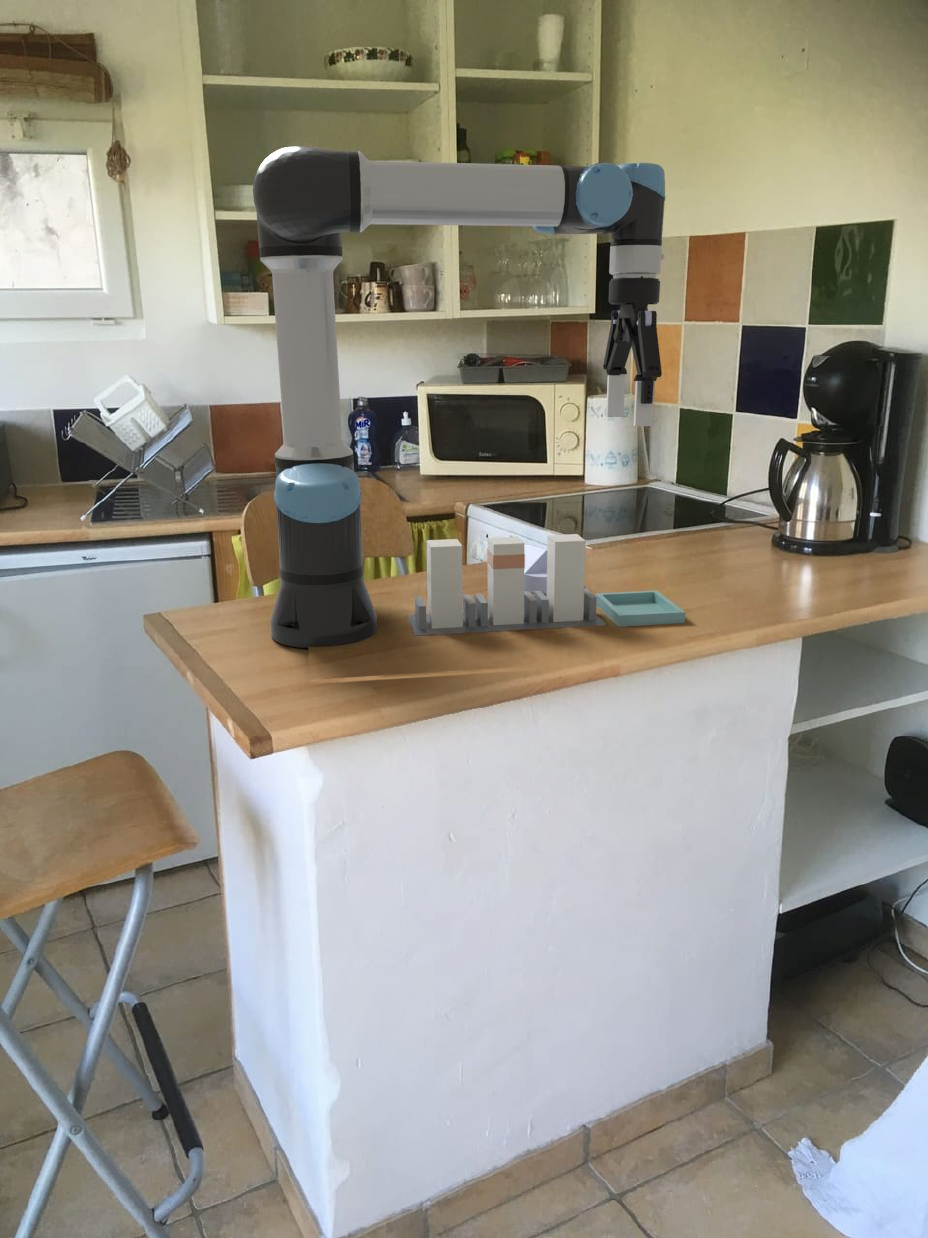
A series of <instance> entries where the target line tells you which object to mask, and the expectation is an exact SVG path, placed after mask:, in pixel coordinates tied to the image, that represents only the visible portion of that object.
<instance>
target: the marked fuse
mask: <svg viewBox="0 0 928 1238" xmlns="http://www.w3.org/2000/svg"><path fill="white" fill-rule="evenodd" d="M525 544H526V543H525V542H524V541H523V540H522V539H521V538H520V537H519V536H497V537H487V548H486V549H487V551H486V552H487V553H486V555H487V556H486V557H487V559H486V562H487V602H488V618H489V619H490V621H491V622H492V624H493V625H507V624H524V592H525V591H524V568H525V554H524V551H525Z"/></svg>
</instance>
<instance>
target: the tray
mask: <svg viewBox="0 0 928 1238" xmlns="http://www.w3.org/2000/svg"><path fill="white" fill-rule="evenodd" d="M594 595H595V596H596V597H597V601H596V607H597V608H598V609H599V610H601V611H602V612H603V614H605V615H606V616H607V617H608V618H609V619H610V621H612V622H614V624H616V626H618V627H620V628H621V627H633V626H634V627H636V626H653V625H670V624H673V625H674V624H685V621H686V611H685V610H684V609H682V608H680V607H679V606H678V605H677V604H675V603H674V602H673V601H671V600H670V599H669V598H668V597H666V596H665V595H664V594H663V593H661V592H660V591H659V590H640V591H638V590H637V591H620V592H619V591H618V592H617V591H616V592H601V593H595V594H594Z"/></svg>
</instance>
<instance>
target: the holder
mask: <svg viewBox="0 0 928 1238" xmlns="http://www.w3.org/2000/svg"><path fill="white" fill-rule="evenodd" d="M596 601H597V597H596V596H595V594H594V593H593V592H591V590H589V589H588V587H587V588H585V587H584V611H583V620H580V621H562V622H553V621H552V620H551V618H550V617H549V616H548V613H549V599H548V598H547V597H546V594H543V593H542V592H541V591H534V593H530V592H529V591H524V624H507V625H493V624H492V622H491V621H490V619H489V618H488V600H487V599H486V598H485V597H484V595H483V594H482V593H475V594H474V598H473V597H472V596H471V594H470V593H469V594H468V593H466V594H463V627H452V628H434V629H432V628H431V625H430V623H429V621H428V613H427V606H426V605H427V604H426V603H425V601H424V599H423V597H422V596H414V614H408V615H407V618H408V621H409V624H410V627H411V629H412V631H413V634H414V636H416V637H417V636H434V635H435V636H438V635H453V634H454V635H455V634H470V633H473V634H474V633H487V632H488V633H489V632H490V633H491V632H492V633H493V632H507V631H508V632H509V631H526V630H541V629H542V630H543V629H544V630H545V629H560V628H576V627H577V628H579V627H580V628H581V627H593V626H595V627H596V626H597V627H599V626H607V623H606V622H605V621H604V620H603V619H602V618H600V616H599V615H598V614H597V605H596Z"/></svg>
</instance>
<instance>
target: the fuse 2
mask: <svg viewBox="0 0 928 1238" xmlns="http://www.w3.org/2000/svg"><path fill="white" fill-rule="evenodd" d="M586 541H587V540H586V539H584V538H583V537H581V535H580V534H577V533H573V534H572V533H571V534H550V535H549V534H548V535H547V544H546V545H547V549H546V551H547V594H545V596H546V597H547V598H548V599H549V613H548V616H549V617H550V618H551V620H552V621H553V622H562V621H580V620H583V611H584V589H585V579H586V577H585V576H586V575H585V573H586V572H585V571H586Z"/></svg>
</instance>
